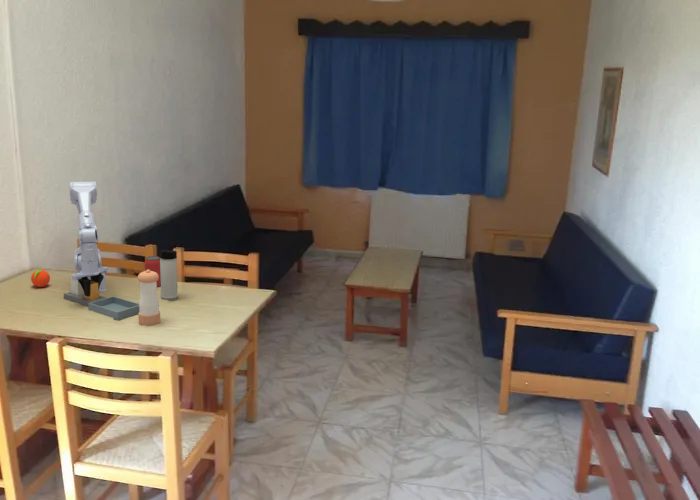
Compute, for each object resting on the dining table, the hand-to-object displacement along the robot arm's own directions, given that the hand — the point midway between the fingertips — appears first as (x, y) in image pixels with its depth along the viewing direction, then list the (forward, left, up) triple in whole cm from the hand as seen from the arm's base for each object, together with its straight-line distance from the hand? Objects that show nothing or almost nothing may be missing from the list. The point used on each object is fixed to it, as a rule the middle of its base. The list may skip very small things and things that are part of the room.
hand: (91, 294), depth 235 cm
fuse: (0, -8, -3) cm, 9 cm away
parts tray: (0, +14, -4) cm, 14 cm away
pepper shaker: (0, +31, -4) cm, 31 cm away
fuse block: (0, -4, -4) cm, 5 cm away
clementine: (0, -33, -4) cm, 33 cm away
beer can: (-30, -1, -4) cm, 31 cm away
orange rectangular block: (0, 0, -3) cm, 3 cm away
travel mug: (-22, +17, -4) cm, 28 cm away
